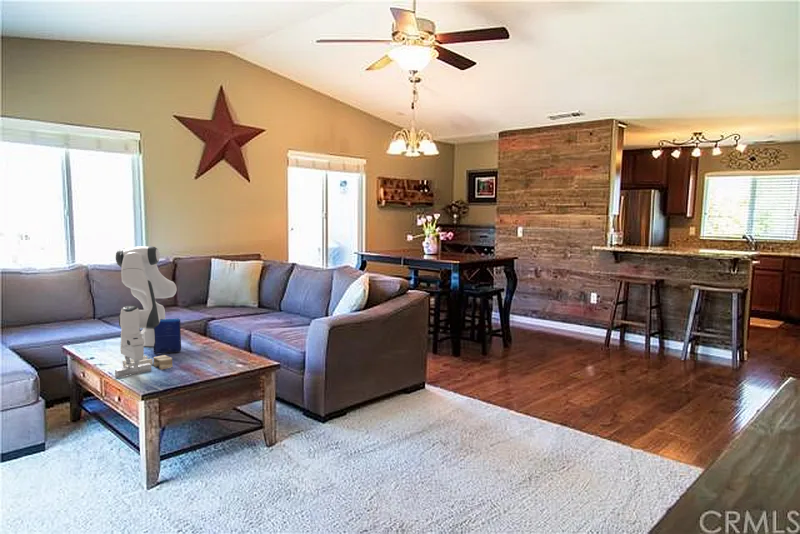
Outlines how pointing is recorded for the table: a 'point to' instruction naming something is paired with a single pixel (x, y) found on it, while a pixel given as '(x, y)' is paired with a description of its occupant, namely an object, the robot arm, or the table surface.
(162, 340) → the book
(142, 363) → the cradle
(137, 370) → the bar
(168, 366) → the tan wooden block
